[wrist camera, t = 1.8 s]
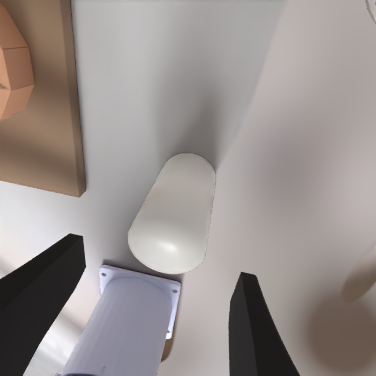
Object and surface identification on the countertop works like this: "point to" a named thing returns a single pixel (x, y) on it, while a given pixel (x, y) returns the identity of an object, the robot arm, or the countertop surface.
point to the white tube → (175, 216)
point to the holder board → (39, 97)
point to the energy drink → (372, 8)
